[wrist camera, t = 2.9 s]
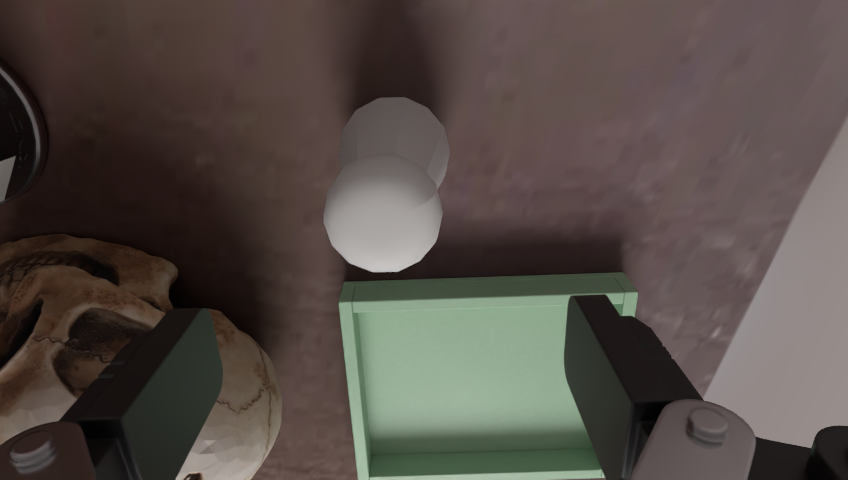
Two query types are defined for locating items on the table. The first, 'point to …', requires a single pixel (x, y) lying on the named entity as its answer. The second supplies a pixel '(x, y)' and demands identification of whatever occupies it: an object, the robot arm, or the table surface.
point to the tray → (468, 376)
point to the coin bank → (118, 346)
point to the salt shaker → (387, 185)
